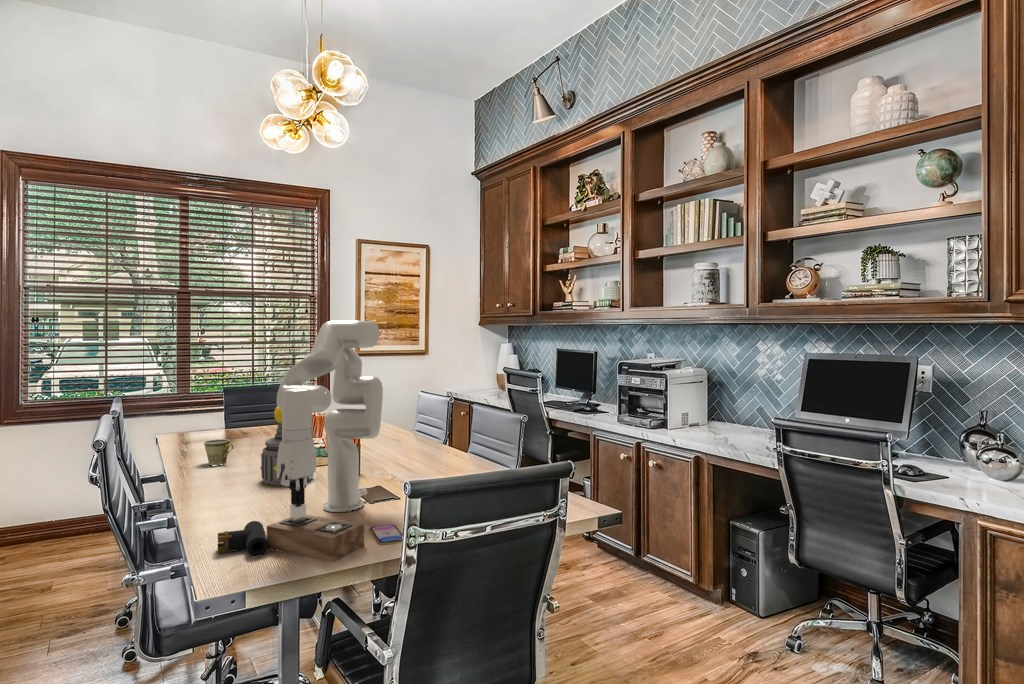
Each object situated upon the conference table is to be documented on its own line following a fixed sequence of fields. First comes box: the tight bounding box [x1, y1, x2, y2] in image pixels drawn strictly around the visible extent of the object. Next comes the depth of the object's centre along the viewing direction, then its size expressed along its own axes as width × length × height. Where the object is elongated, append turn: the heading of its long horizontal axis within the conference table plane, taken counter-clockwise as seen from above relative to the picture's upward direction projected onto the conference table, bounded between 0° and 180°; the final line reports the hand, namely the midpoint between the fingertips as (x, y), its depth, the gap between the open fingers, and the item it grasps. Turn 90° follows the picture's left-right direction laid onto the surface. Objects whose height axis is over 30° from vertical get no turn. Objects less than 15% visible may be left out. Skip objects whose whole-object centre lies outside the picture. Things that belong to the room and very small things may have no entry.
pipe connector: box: [217, 520, 269, 557], centre depth 160 cm, size 12×5×15 cm
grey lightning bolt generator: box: [260, 405, 282, 486], centre depth 232 cm, size 19×19×30 cm
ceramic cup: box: [203, 438, 234, 466], centre depth 259 cm, size 13×10×10 cm
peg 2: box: [326, 524, 342, 531], centre depth 158 cm, size 4×4×6 cm
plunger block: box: [266, 513, 365, 563], centre depth 160 cm, size 12×22×6 cm, turn 65°
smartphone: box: [369, 524, 403, 546], centre depth 170 cm, size 8×15×1 cm, turn 23°
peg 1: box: [289, 502, 307, 525], centre depth 163 cm, size 4×4×6 cm
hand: (297, 503), depth 163 cm, fingers closed
